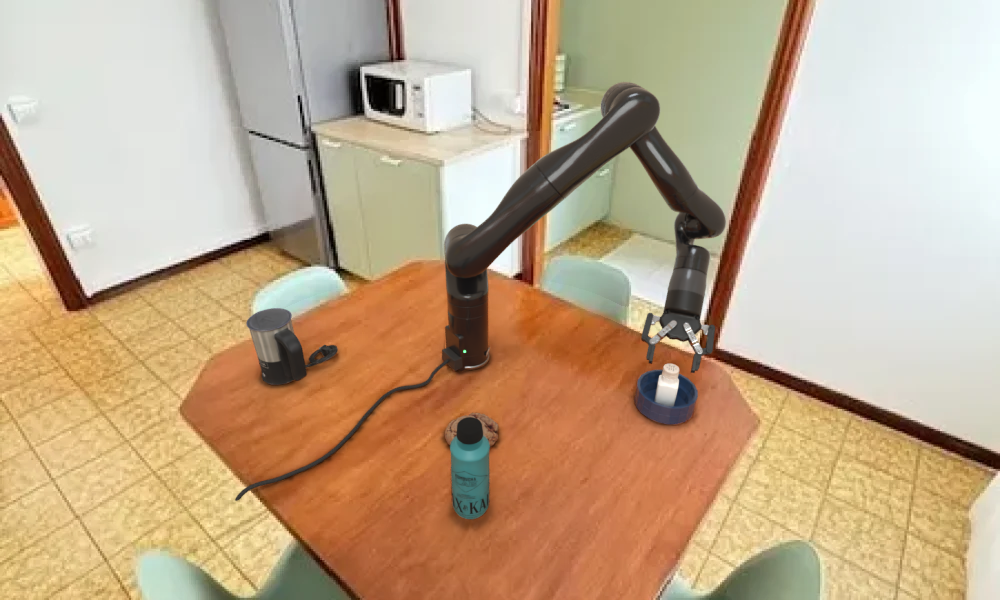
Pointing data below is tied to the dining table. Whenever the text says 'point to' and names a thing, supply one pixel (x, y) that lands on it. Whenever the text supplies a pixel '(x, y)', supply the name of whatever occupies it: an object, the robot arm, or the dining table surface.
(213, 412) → the dining table surface
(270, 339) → the milk frother
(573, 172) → the robot arm
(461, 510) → the beverage bottle
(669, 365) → the salt shaker
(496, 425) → the cookie
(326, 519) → the dining table surface
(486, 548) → the dining table surface
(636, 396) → the bowl
